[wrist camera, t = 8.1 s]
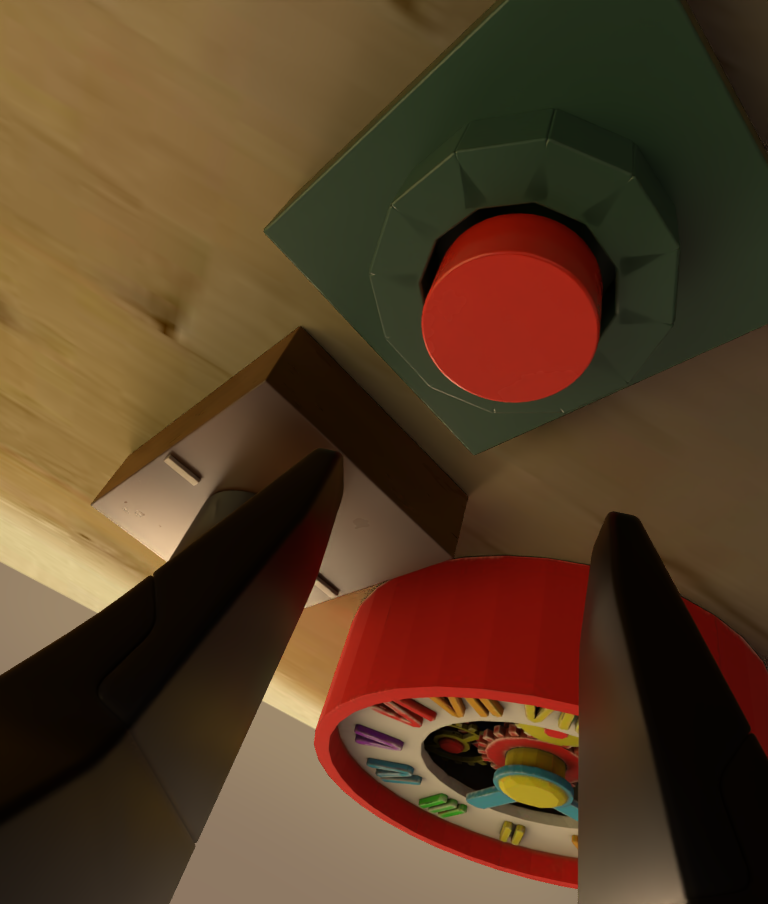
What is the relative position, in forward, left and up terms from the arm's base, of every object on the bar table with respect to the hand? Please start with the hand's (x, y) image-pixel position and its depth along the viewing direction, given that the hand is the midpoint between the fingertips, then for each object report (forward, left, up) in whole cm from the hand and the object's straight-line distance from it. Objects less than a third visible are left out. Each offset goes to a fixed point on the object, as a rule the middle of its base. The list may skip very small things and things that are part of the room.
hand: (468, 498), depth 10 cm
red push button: (0, 0, -6) cm, 6 cm away
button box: (0, 0, -10) cm, 10 cm away
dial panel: (+14, +3, -10) cm, 17 cm away
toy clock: (+13, +20, -10) cm, 26 cm away
